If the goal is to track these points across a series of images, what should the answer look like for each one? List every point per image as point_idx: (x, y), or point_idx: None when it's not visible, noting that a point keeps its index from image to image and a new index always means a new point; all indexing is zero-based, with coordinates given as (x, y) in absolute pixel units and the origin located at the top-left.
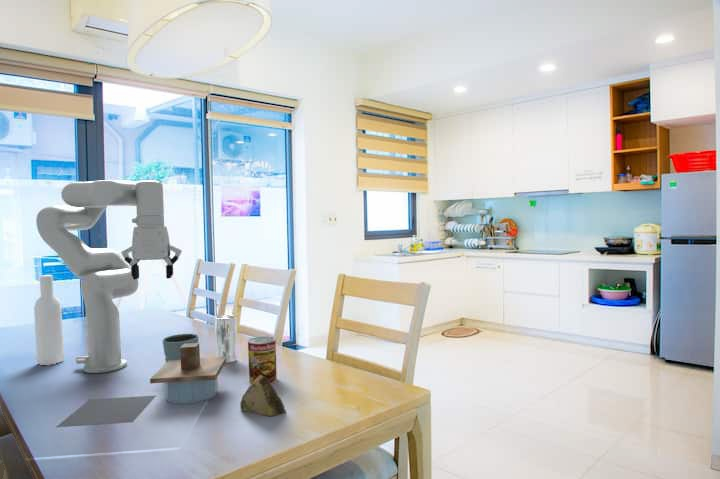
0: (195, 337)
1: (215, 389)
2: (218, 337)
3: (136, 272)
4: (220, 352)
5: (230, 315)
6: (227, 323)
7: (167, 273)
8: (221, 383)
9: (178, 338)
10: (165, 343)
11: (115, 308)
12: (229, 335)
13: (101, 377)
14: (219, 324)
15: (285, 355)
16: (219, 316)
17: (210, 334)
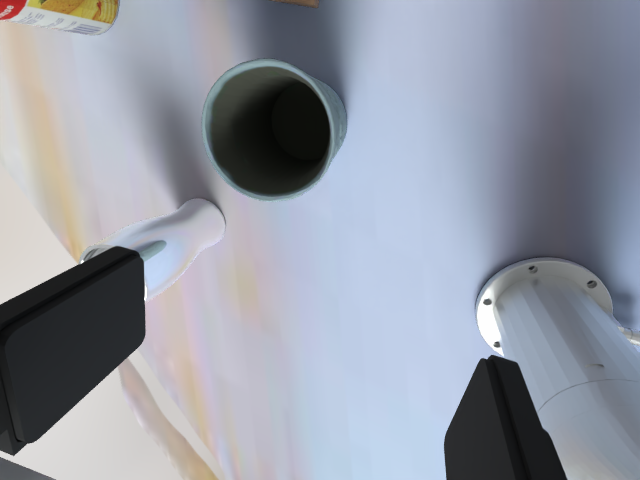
0: (221, 159)
1: None
2: (176, 231)
3: (483, 445)
4: (201, 220)
5: None
6: (112, 236)
7: (87, 269)
8: (191, 4)
9: (286, 190)
10: (320, 87)
11: (569, 452)
12: (139, 221)
13: (549, 214)
14: (141, 244)
15: (69, 208)
16: None
17: (271, 474)
